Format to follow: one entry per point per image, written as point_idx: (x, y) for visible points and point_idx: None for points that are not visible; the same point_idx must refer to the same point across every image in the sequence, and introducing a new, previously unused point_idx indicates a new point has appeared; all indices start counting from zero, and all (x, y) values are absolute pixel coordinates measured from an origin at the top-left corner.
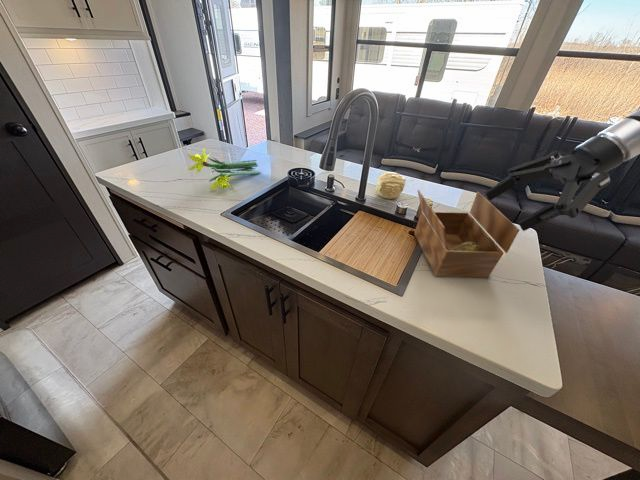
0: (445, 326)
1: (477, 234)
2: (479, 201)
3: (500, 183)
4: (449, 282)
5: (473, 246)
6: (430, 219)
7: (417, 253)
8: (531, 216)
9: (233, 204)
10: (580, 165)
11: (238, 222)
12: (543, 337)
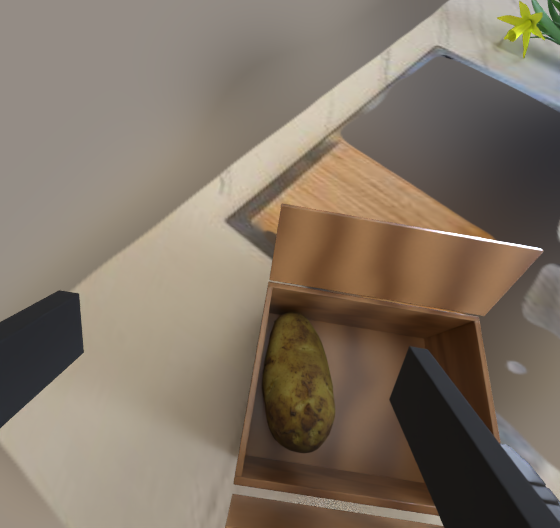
0: (143, 260)
1: (377, 490)
2: None
3: (488, 439)
4: (240, 331)
5: (295, 400)
6: (396, 276)
7: None
8: (2, 324)
9: (470, 58)
10: None
11: (419, 60)
12: (34, 461)
